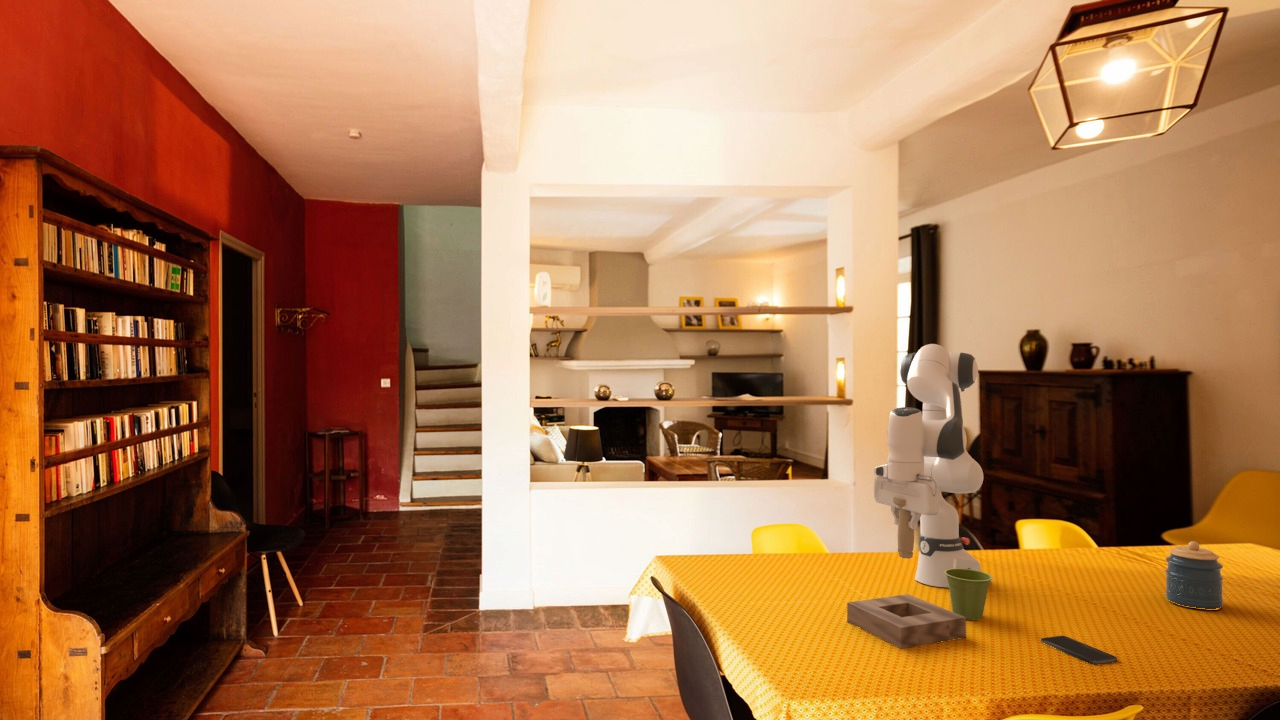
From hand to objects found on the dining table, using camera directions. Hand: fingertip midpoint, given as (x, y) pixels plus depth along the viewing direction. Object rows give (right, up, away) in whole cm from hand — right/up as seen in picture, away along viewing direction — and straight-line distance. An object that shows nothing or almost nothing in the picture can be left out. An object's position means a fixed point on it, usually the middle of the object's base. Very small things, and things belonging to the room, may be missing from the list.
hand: (905, 526), depth 187 cm
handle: (0, -8, 0) cm, 8 cm away
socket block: (0, -26, 0) cm, 26 cm away
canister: (+89, -27, +21) cm, 95 cm away
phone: (+35, -27, -14) cm, 46 cm away
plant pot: (+20, -26, +10) cm, 35 cm away
